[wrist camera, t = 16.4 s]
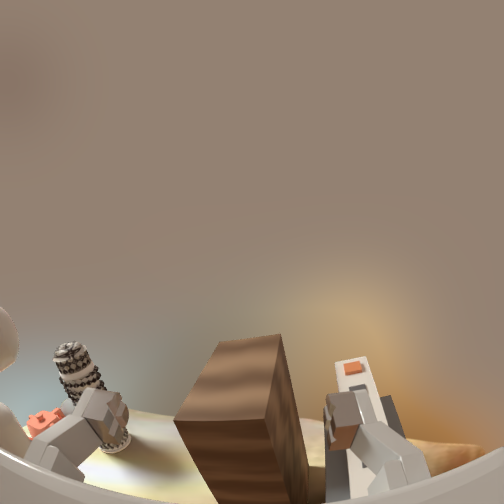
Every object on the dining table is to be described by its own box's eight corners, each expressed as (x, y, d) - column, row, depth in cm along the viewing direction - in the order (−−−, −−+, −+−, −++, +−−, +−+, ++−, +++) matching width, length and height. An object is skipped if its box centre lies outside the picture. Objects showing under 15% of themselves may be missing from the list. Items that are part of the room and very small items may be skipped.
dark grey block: (397, 551, 18) (420, 485, 16) (334, 562, 20) (325, 504, 17) (386, 479, 32) (390, 395, 30) (333, 488, 34) (323, 408, 31)
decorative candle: (122, 457, 48) (68, 355, 44) (91, 451, 49) (39, 355, 46) (139, 432, 57) (94, 336, 53) (108, 428, 58) (65, 338, 55)
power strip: (409, 552, 10) (417, 536, 9) (353, 564, 11) (354, 551, 10) (367, 375, 35) (365, 353, 35) (337, 381, 36) (334, 359, 35)
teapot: (37, 463, 42) (15, 432, 41) (42, 437, 53) (24, 407, 51) (76, 456, 47) (54, 424, 45) (77, 429, 58) (60, 399, 56)
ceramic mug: (83, 413, 65) (70, 391, 64) (101, 418, 63) (88, 395, 61) (59, 433, 55) (45, 410, 54) (77, 441, 53) (61, 417, 51)
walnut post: (303, 542, 25) (264, 418, 21) (245, 542, 26) (173, 420, 23) (308, 465, 40) (280, 333, 37) (261, 468, 42) (219, 341, 38)
